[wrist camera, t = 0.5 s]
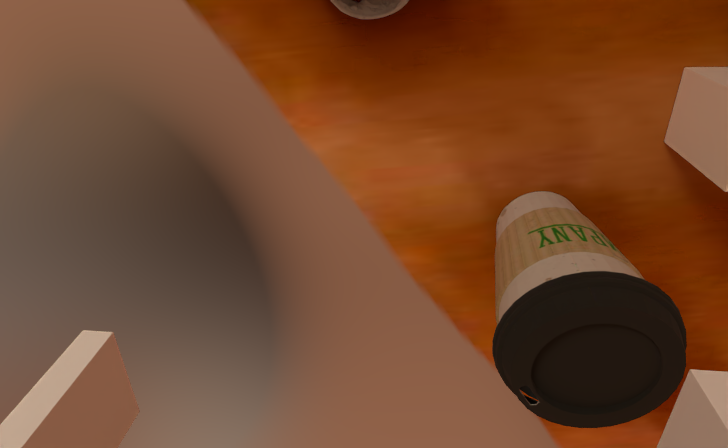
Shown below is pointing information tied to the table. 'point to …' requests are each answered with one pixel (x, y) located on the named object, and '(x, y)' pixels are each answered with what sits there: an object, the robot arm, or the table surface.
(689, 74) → the socket block
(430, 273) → the table surface
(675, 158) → the table surface
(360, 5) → the ceramic mug
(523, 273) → the coffee cup
